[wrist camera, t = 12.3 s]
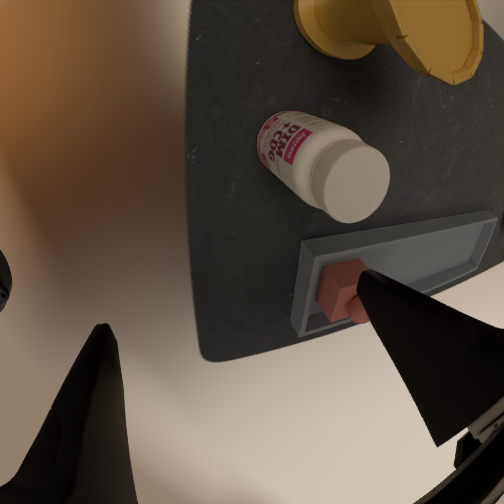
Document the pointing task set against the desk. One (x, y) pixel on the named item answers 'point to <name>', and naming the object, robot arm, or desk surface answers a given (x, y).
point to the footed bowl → (398, 32)
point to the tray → (392, 259)
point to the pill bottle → (324, 164)
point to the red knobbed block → (341, 291)
